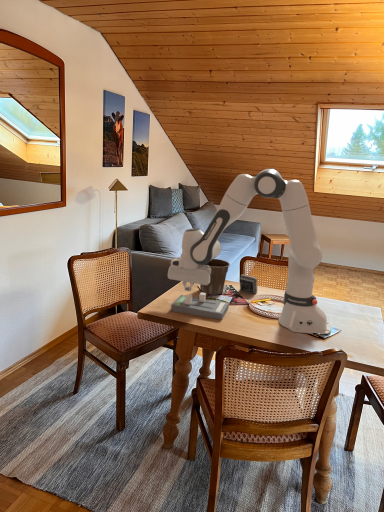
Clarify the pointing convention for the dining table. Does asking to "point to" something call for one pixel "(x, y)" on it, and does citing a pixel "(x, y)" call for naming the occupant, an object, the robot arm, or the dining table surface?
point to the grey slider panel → (200, 307)
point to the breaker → (188, 299)
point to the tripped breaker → (202, 297)
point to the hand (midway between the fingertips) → (187, 290)
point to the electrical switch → (248, 284)
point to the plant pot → (216, 277)
